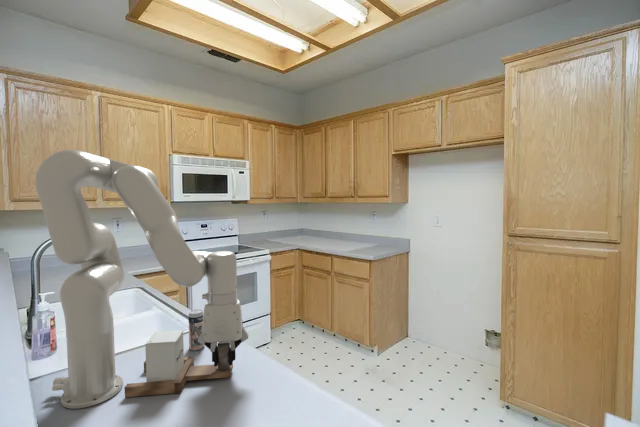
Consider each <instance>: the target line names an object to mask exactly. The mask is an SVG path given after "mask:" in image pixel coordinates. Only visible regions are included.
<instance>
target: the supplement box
mask: <svg viewBox="0 0 640 427" xmlns="http://www.w3.org/2000/svg"><path fill="white" fill-rule="evenodd" d="M184 349H185V346H184V330H182V329H181V330H180V329H179V330H169V331H168V330H166V331H155V333H154V334H153V335H152V336H151V337H150V338H149V339H148V341H147V342H146V343H145V361H146V371H145V372H146V373H145V379H146V382H156V381H168V380H176V379H177V377H178V376H179V374H180V372H181V370H182V368H183V366H184V357H185V355H184V353H185V352H184V351H185V350H184Z"/></svg>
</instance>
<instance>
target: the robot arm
mask: <svg viewBox="0 0 640 427" xmlns="http://www.w3.org/2000/svg"><path fill="white" fill-rule="evenodd" d="M34 184H35V185H34V186H35V190H36V193H37V197H38V200H39V204H40V205H41V208H42V211H43V214H44V219H45V224H46V226H47V230H48V232H49V234H48V235H49V237H50V240H51V244H52V247H53V251H54V253H55V256H56V257H57V258H58V260H59V261H60V262H62V263H64V264H66V265H80V266H81V268H80V269H78V270H76V271H75V272H73V273H71V274H70V275H69V276H67V278H65V280H64V282H63V283H62V285H61V287H60V291H59V299H60V304H61V308H62V312H63V315H64V321H65V322H64V323H65V324H64V325H65V338H66V355H67V357H66V358H67V374H68V375H67V377H65V376H62V377H61V376H59V377H55V378H54V379H53V382H52V385H53V386H52V387H51V391H54V392H55V391H60V390H61V391H63V393H62V395H61V396H60V404H61V405H62V407H64V408H67V409H72V410H73V409H74V410H76V409H84V408H90V407H93V406H96V405H99V404H101V403H103V402H106V401H107V400H109V399H111V398H112V397H115V395H116V394H118V393H119V392H120V391H121V389H123V386H124V381H123V380H124V379H123V378H122V377H121V376H120V375H117V374H116V352H115V348H116V347H115V326H114V316H113V315H114V314H113V310H112V307H111V303H110V297H111V296H112V295H114V294H115V293H116V292H118V290H119V289H120V288H121V287H122V285H123V283H124V280H125V273H124V272H125V271H124V266H123V264H122V261H121V260H122V258H121V257H120V252H119V250H118V245H117V241H116V238H115V236H114V234H113V232H112V231H111V229H109V228H108V227H107V226H106V225H104V224H101V223H99V222H93V220H92V216H91V213H90V208H89V206H88V203H87V201H86V198H84V196H83V193H82V190H81V188H83V187H85V188H87V187H88V188H96V189H99V190H104V191H109V192H113V193H115V194H117V196H118V197H119V198H120V201H122V202H123V204H124V205H125V207H126V208H127V209H128V210H129V212H130V213H131V215H132V216H133V217H134V219H135V221H136V222H137V223H138V224H139V227H141V229H142V230H143V232H144V234H145V237H146V241H147V242H148V244H149V246H150V248H151V251H152V253H153V255H154V257H155V258H156V260H157V261H158V262H159V264H160V266H161V267H162V270H164V272H165V273H166V274H167V275H168V277H169V278H170V279H171V281H173V282H174V283H175V284H177V285H179V286H180V287H183V288H190V287H193V286H196V285H197V284H199V283H200V282H201V281H202V280H203V278H204V277H206V279H207V292H206V293H202V295H201V299H202V300H206V301H207V302H206V303H205V304H204V308H203V329H202V333H201V335H200V337H199V338H198V342H199V343H201V344H204V345H205V346H204V347H206V348H208V350H210V352H211V363H213V364H214V367H216V366H217V365H218V343H219V342H228V341H229V342H230V350H229V365H232V363H233V362H234V361H236V349H237V348H238V347H239V346H240V345H241V343H244V342H245V341H247V340H248V339H249V333H248V331H247V330H246V329H245V326H244V324H243V312H242V307H241V302H240V300H239V298H238V283H237V282H238V277H237V275H238V273H237V256H236V254H235V253H234V252H233V251H231V250H230V251H229V250H219V251H213V252H212V251H200V250H191V248H190V247H189V245H188V244H187V242H186V241H185V239H184V237H183V236H182V233H181V230H180V228H179V227H180V226H179V221H178V216H177V214H176V212H175V209H174V208H173V207H172V206H171V205H170V203H169V202H168V200H167V199H166V197H165V195H164V194H163V193H162V192H161V190H160V188H159V180H158V178H157V176H156V174H155V173H154V172H153V171H152V170H151V169H148V168H146V167H142V166H139V165H134V164H128V163H124V162H122V161H119V160H118V161H117V160H115V159H111V158H108V157H104V156H101V155H98V154H94V153H90V152H87V151H84V150H79V149H65V150H64V149H63V150H60V151H57V152H54V153H53V154H50V155H49V156H48V157H47V158H45V159H44V160H43V161H42V162H41V164H40V165H39V167H38V169H37V171H36V174H35V180H34ZM233 364H234V363H233Z"/></svg>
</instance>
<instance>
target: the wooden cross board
mask: <svg viewBox="0 0 640 427" xmlns="http://www.w3.org/2000/svg"><path fill="white" fill-rule="evenodd" d="M217 346H218V365H217V366H216V367H214V363H213V364H203V365H195V359H194V358H195V357H194V356H187V357H185V356H184V366H183V368H182V370H181V372H180V374H179V376H178V377H177V379H176V380H168V381H156V382H143V381H142V382H134V383H133V382H131V383H126V385H125V386H124V398H131V397H132V398H133V397H143V396H144V397H145V396H155V395H167V394H168V395H169V394H178V393H179V394H181V393H182V391H183V390H184V387H185V385H186V383H187V381H199V380H209V379H210V380H211V379H222V378H231V376H232V372H233V369H234V363H232V365H229V350H230V341H228V342H217ZM143 372H146V360H145V361H144V362H143Z"/></svg>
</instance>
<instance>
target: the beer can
mask: <svg viewBox="0 0 640 427" xmlns="http://www.w3.org/2000/svg"><path fill="white" fill-rule="evenodd" d="M203 313H204V310H203V309H193V310H191V311H189V313H188V315H187V317H188V346H189V347H188V349H190V350H191V351H199V350H202V349H203V348H204V347H206V346H205V345H204V344H201V343H199V342H198V338H199V337H200V335H201V333H202V329H203Z"/></svg>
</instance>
